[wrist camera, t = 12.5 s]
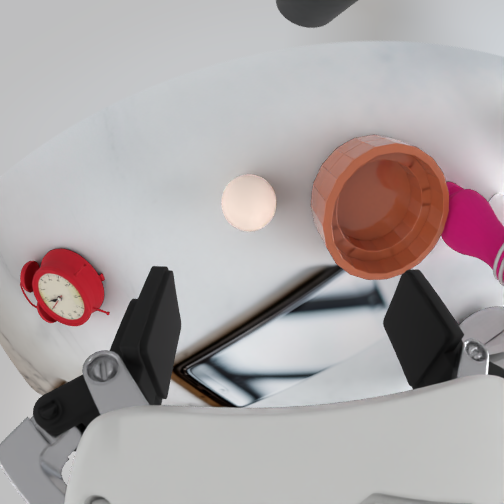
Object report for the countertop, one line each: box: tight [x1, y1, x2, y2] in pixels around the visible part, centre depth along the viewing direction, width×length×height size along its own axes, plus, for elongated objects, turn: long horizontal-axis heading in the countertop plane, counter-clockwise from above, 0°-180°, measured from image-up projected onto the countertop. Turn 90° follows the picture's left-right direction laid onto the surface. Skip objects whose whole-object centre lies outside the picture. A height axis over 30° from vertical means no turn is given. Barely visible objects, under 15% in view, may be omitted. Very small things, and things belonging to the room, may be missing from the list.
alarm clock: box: [20, 249, 110, 326], centre depth 31 cm, size 10×6×15 cm
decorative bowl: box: [459, 307, 504, 369], centre depth 36 cm, size 30×30×15 cm
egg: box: [221, 174, 277, 232], centre depth 25 cm, size 5×5×7 cm
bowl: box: [311, 135, 449, 280], centre depth 26 cm, size 14×14×6 cm
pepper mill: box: [441, 182, 504, 286], centre depth 20 cm, size 7×7×20 cm
